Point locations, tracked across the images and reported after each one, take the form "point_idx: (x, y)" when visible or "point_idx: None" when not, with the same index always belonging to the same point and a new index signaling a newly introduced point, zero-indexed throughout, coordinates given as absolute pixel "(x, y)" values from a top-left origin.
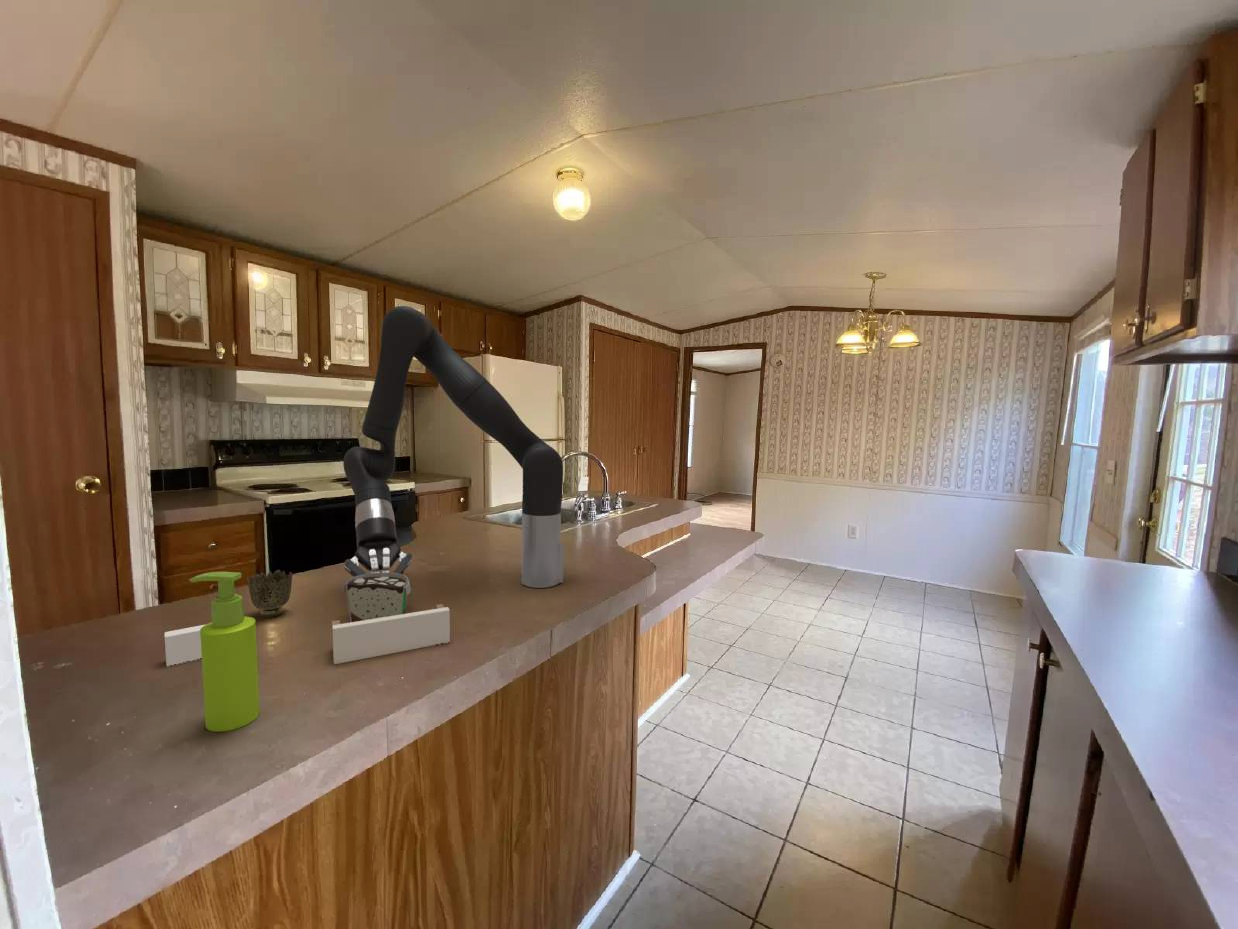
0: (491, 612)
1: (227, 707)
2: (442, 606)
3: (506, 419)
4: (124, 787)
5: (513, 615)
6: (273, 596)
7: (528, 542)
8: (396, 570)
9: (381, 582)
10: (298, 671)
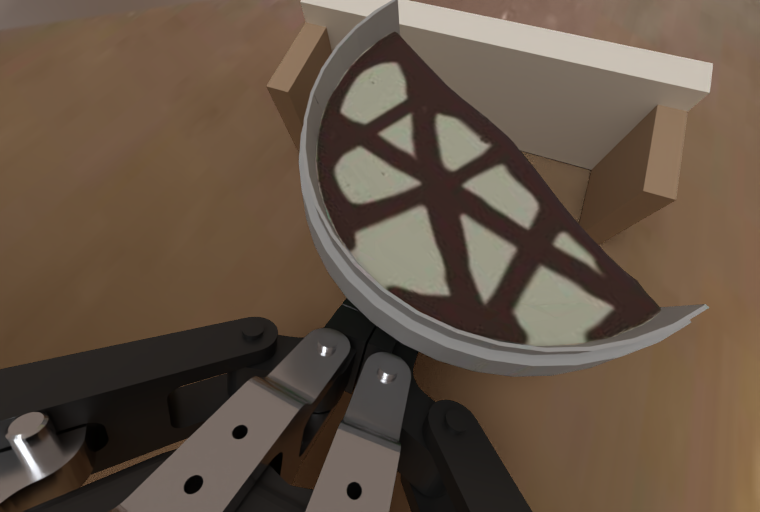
0: (126, 158)
1: None
2: (281, 68)
3: None
4: None
5: (114, 104)
6: None
7: None
8: (222, 349)
9: (450, 167)
10: (708, 179)
